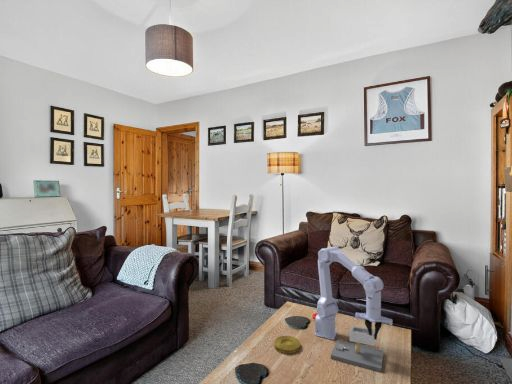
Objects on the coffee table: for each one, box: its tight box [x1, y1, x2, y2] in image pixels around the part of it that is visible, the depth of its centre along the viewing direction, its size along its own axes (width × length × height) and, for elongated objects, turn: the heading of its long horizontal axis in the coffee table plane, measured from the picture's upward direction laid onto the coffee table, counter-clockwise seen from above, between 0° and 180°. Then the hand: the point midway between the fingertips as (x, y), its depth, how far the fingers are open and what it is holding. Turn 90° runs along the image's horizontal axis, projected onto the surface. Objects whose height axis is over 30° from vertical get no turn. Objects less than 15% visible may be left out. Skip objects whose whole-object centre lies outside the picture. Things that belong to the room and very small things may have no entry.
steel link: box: [348, 325, 377, 347], centre depth 124 cm, size 10×6×4 cm, turn 62°
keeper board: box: [330, 338, 385, 373], centre depth 125 cm, size 20×14×6 cm
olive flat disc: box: [273, 335, 301, 355], centre depth 133 cm, size 12×12×2 cm
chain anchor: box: [336, 343, 348, 351], centre depth 128 cm, size 5×4×1 cm
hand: (373, 337), depth 122 cm, fingers closed on steel link
